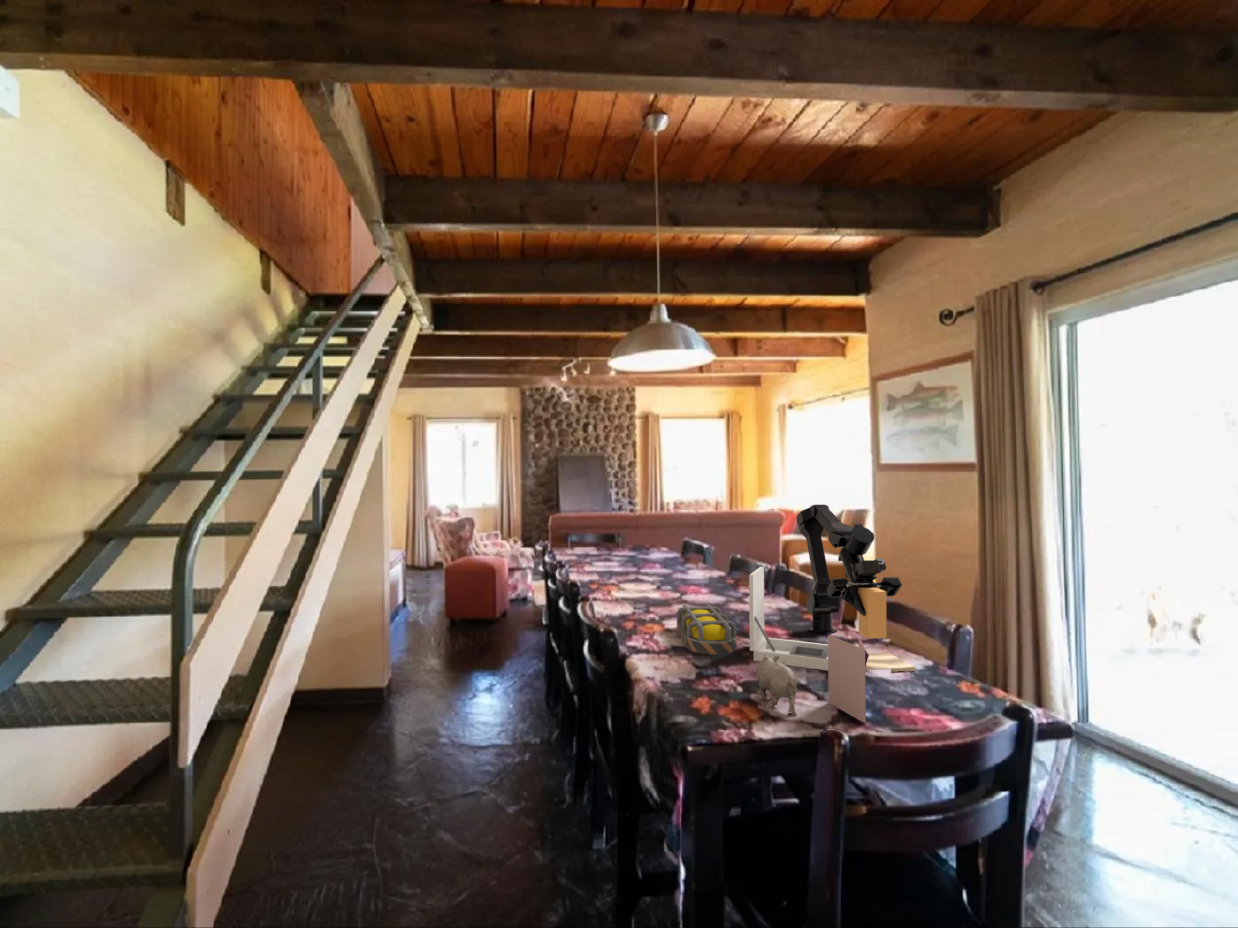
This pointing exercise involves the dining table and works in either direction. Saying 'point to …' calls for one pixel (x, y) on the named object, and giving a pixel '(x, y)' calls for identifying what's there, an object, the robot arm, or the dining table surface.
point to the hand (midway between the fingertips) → (874, 614)
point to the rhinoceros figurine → (776, 682)
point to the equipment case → (771, 647)
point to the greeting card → (847, 677)
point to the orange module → (873, 613)
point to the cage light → (706, 630)
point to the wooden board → (887, 662)
